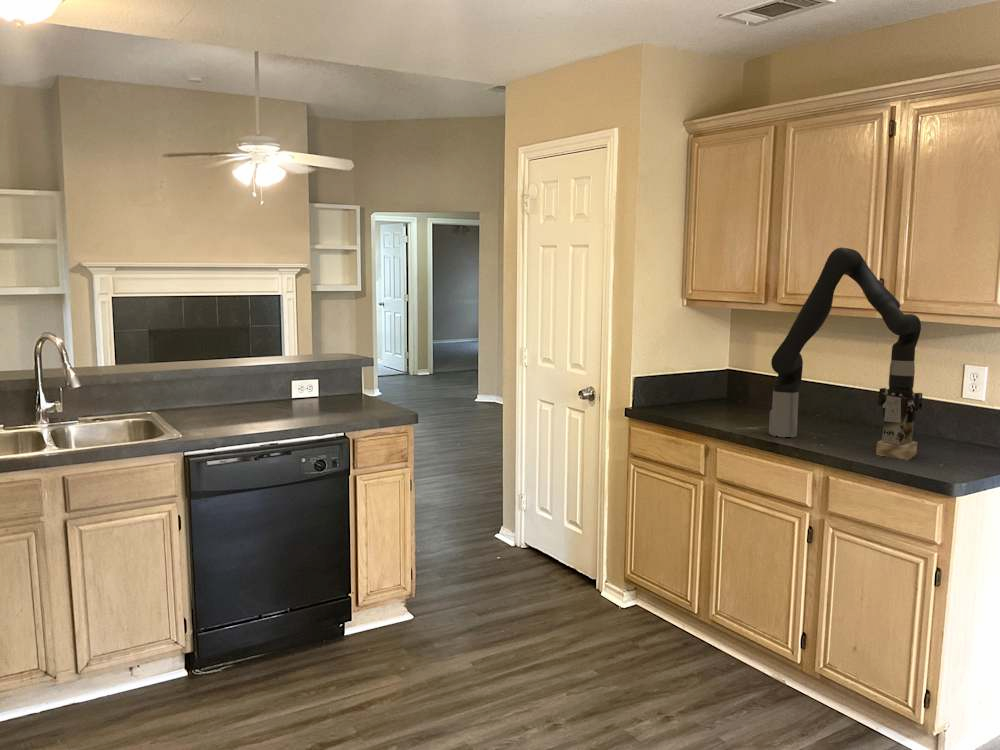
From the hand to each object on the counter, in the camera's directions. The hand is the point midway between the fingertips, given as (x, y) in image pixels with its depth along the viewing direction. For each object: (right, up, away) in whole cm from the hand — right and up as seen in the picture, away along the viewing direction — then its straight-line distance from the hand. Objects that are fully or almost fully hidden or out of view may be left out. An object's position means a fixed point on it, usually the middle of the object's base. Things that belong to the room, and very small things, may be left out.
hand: (898, 420), depth 267 cm
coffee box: (0, -8, +1) cm, 8 cm away
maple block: (0, -12, +2) cm, 13 cm away
